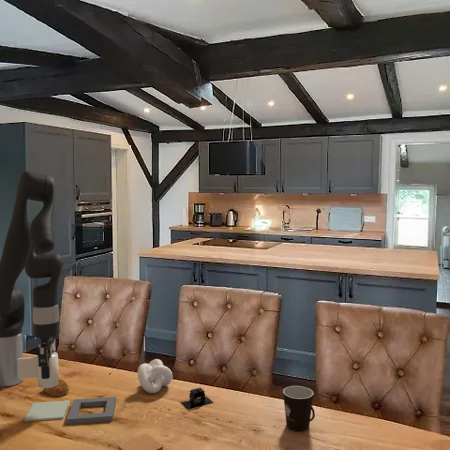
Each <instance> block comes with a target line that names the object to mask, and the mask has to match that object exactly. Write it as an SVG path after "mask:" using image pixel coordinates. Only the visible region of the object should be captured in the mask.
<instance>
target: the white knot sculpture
mask: <svg viewBox="0 0 450 450" xmlns="http://www.w3.org/2000/svg"><path fill="white" fill-rule="evenodd" d="M137 379H138V382H139V384H140V386H141V388H142V389H143V390H144V391H146V393H149V394H156V393H158V392H159V391H160V390H161V389H162V387H167V386H168V385H170V384H171V383H172V380H173V371H171V369H170V368H169V367H167V366H166V365H164V363H163V361H162V360H161V359H158V358H155V359H152V360H151V361H150V362H149V363H145V362H144V363H142V364H140V365H139V366H138V369H137Z"/></svg>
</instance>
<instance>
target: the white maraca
mask: <svg viewBox="0 0 450 450" xmlns="http://www.w3.org/2000/svg"><path fill="white" fill-rule="evenodd" d="M48 355H49V354H48ZM17 362H18V379H23V378H24V379H33V378H34V379H37V387H38V388H40V389H43V388H51V387H54V386H56V385H58V384H59V379H60V378H59V377H60V375H59V373H60V372H59V355H58V352H57V351H56V352H52V357H51V358H50V365H49V367H50V377H49V378H48V379H42V376H41V367H39V366H38V364H39V363H38V354H37V355H36V356H27V357H23V358H18V359H17ZM43 362H45V359H44V360H43Z"/></svg>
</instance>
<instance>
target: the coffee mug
mask: <svg viewBox="0 0 450 450" xmlns="http://www.w3.org/2000/svg"><path fill="white" fill-rule="evenodd" d="M314 394H315V393H314V391H313V390H312V389H310V388H309V387H305V386H301V385H290V386H287V387H285V388H283V390H282V396H283V403H284V405H283V406H284V414H285V423H286V428H287V429H288V430H289V431H293V432H299V433H301V432H303V433H304V432H306V431H308V430H309V429H310V423H311V422H312V421H313V420H314V419H315V416H316V414H315V409H314V407H313V401H314ZM311 415H312V416H311Z"/></svg>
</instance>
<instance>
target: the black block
mask: <svg viewBox="0 0 450 450" xmlns="http://www.w3.org/2000/svg"><path fill="white" fill-rule="evenodd" d="M189 390H190V392H189V395H188V397H189V400H184V401H181V402H179V404H181V406H183V407H184V408H185V409H186V410H191V409H195V408H200V407H203V406H207V405H211V404H214V401H213V400H212V399H210V397H209V396H206V393H205V390H204V389H203V388H202V387H198V388H194V389H189Z"/></svg>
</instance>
